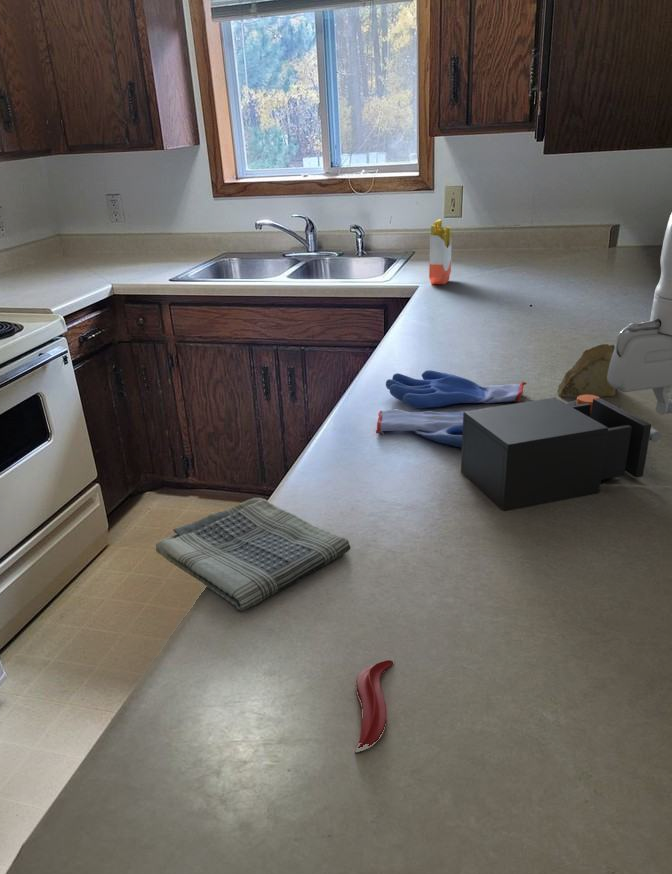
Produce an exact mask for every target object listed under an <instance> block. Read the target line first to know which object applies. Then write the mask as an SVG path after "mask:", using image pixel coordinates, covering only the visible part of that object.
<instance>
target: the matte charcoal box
mask: <svg viewBox="0 0 672 874" xmlns="http://www.w3.org/2000/svg"><path fill="white" fill-rule="evenodd" d="M567 404H568V403H566V402H564V401H562V400H561V399H559V398H557V397H547V398H543V399H536V400H530V401H523V402H519V403H516V402H515V403H509V404H505V405H503V404H502V405H498V406H492V407H484V408H479V409H477V408H476V409H471V410H464V411H465V412H464V413H463V434H461V435H462V448H461V459H460V473H461V474H462V475H463V476H464V477H466V479H468V480H469V481H470V483H472V484H473V485H474V486H475V487H476V488H477V489H478V490H479V491H480V492H482V494H484V495H485V496H486V497H487V498H488V499H489V500H491V501H492V502H493V503H494V504H495V506H497V507H498V508H499V509H501V511H502V512H504V511H510V510H511V511H512V510H516V509H522V508H526V507H532V506H537V505H541V504H546V503H554V502H558V501H563V500H569V499H573V498H579V497H584V496H589V495H594V494H600V491H601V484H602V480H601V478H602V471H603V463H604V456H605V449H606V442H607V435H608V434H607V433H608V427H606V426H604V425H602V424H601V423H599V422H597V421H595V420H594V419H592V418H590V417H588V416H587V415H585V414H583V413H581V412H580V411H578V410H576V409H574V408H573V407H571V406H569V405H567Z"/></svg>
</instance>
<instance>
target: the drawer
mask: <svg viewBox="0 0 672 874" xmlns="http://www.w3.org/2000/svg"><path fill="white" fill-rule="evenodd" d="M571 407H573V408H574V409H576V410H578V411H580V412H581V413H583V414H585V415H587V416H588V417H589V415H590V407H591V404H589V403H584V404H578V405H572V406H571ZM591 418H592V419H594V420H595V421H597V422H599V423H601V424H602V425H604V426H606V427H608V433H607V434H608V435H607V442H606V449H605V456H604V463H603V471H602V478H601V481H603V480H607V479H613V478H618V477H624V476H625V475H626V473H627V474H629V475H630V476H632V477H634V479H635V478H642V477H644V471H645V468H646V467H645V466H646V461H647V460H646V459H647V454H648V448H649V442H650V441H651V442H653V443H656V442H658V441H660V439H661V437H662V433H661V431H659V430H657V429H655V428H653V427H652V423H649V422H648V421H645V420H643V419H641V418H640V417H638V416H636V415H634V414H632V413H630V412H629V411H626V410H624V409H622V408H621V407H620V408H618V407H617V406H616V405H615V404H612V403H610V402H609V401H607V400H606V399H603V398H601V397H600V398H596V399H593V403H592V411H591Z"/></svg>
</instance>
